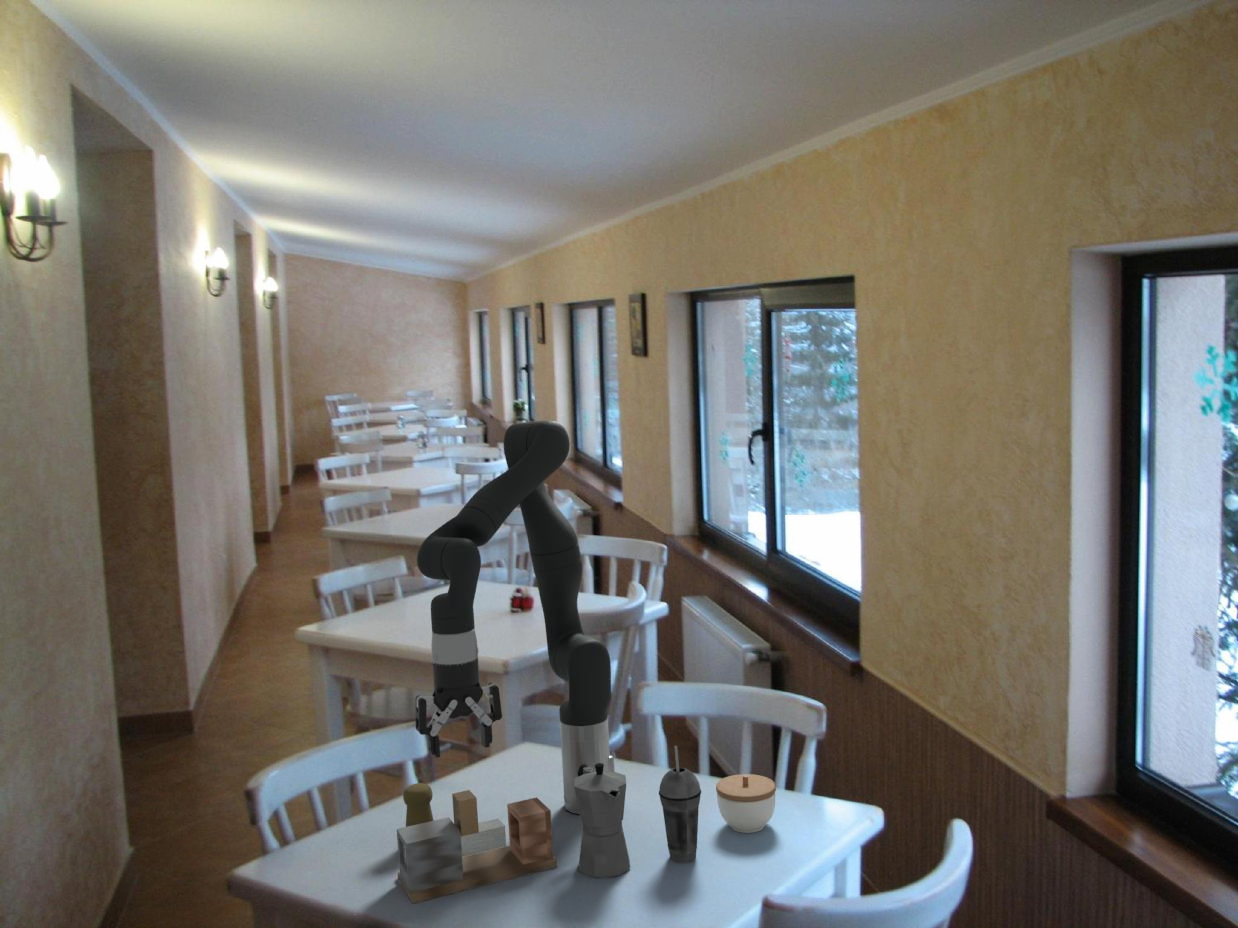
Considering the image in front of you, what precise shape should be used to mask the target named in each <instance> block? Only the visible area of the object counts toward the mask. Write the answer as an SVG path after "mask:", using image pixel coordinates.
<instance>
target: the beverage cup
mask: <svg viewBox="0 0 1238 928" xmlns="http://www.w3.org/2000/svg"><path fill="white" fill-rule="evenodd" d="M673 749H674V756H675V767H673V768H672V769H670V770H668V771H667V772H666V773H665V774H664V775H663V776H662V778H661V781H660V785H659V789H658V795H659V799H660V803H661V804H660V805H661V807H662V812H663V820H664V826H665V827H664V828H665V834H666V836H665V837H666V843H667V850H668V853H669V858H670V859H669V860H671V861H672V862H674V863H677V864H688V863H691V862H694V860H696V859H697V850H698V831H699V830H698V829H699V807H700V802H701V794H702V789H701V786H700V782H699V779H698V778H697V776H696V775H695V774H694V772H692V771H691V770H689V769H688V768H685V767H680V764H679V763H680V762H679V751H678V749H679V748H678V745H674V747H673Z"/></svg>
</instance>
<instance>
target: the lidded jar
mask: <svg viewBox="0 0 1238 928" xmlns="http://www.w3.org/2000/svg"><path fill="white" fill-rule="evenodd" d="M776 786H777V785H776V782H774V780H772V779H770V778H769V777H766V776H763V775H759V774H752V773H751V774H749V773H742V774H741V773H740V774H734V775H729V776H725V777H723V778H721V779H720V780H718V781H717V783H716V786H715V788H716V789H715V790H716V791H715V792H716V798H717V800H716V801H717V805H718V809H719V813H720V815H721V817H722V819H723V820H724V822H725V823H726V824H728V826H730V828H731V829H732V830H733V831H734V832H737V833H741V834H753V833H758V832H760V831H762V830H764V828H765V826H766V825H768V823H769V822H770V820H771V819H772V817H773V814H774V812H775V807H776V791H777V789H776Z"/></svg>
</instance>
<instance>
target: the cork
mask: <svg viewBox="0 0 1238 928" xmlns="http://www.w3.org/2000/svg"><path fill="white" fill-rule="evenodd" d="M433 796H434V795H433V790H432V788H431V786H430V785H428V784H427V783H421V782H420V783H419V782H418V783H413V784H410V785H408V786H407V787H406V788H405V789H404V791H403V794H402V798H403V799H402V800H403V802H404V804H405V806H406V817H405V827H408V826H413V825H417V824H421V823H426V822H430V821H435V820H434V816H433V812H432V807H431V802H432V800H433Z"/></svg>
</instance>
